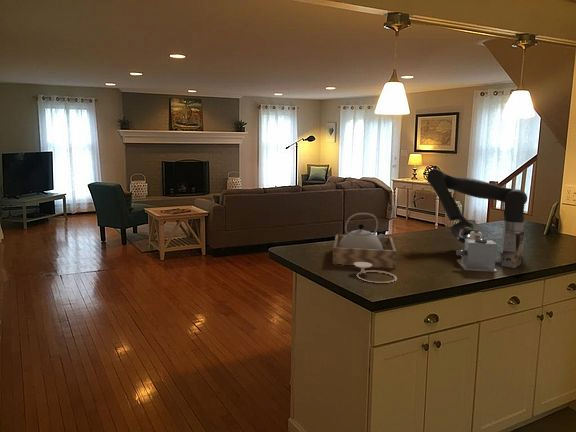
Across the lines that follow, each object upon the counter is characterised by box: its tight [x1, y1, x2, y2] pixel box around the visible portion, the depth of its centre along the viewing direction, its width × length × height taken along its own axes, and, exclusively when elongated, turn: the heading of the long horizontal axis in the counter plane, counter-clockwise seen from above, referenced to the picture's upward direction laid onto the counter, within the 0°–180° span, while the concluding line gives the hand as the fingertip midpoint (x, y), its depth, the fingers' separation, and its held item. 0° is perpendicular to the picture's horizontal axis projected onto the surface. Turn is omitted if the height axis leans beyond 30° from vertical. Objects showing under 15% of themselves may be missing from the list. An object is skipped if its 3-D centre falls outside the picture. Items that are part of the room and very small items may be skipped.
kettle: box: [338, 212, 386, 250], centre depth 228 cm, size 25×23×23 cm
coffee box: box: [501, 230, 525, 269], centre depth 221 cm, size 9×6×16 cm
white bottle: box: [470, 228, 483, 240], centre depth 221 cm, size 5×6×12 cm
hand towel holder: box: [353, 262, 398, 284], centre depth 199 cm, size 17×4×20 cm
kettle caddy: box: [332, 234, 397, 269], centre depth 229 cm, size 28×30×8 cm
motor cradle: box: [455, 237, 498, 273], centre depth 218 cm, size 17×17×14 cm
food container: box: [458, 218, 478, 230], centre depth 284 cm, size 12×6×10 cm, turn 22°
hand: (476, 243), depth 219 cm, fingers closed on white bottle, 5 cm apart
